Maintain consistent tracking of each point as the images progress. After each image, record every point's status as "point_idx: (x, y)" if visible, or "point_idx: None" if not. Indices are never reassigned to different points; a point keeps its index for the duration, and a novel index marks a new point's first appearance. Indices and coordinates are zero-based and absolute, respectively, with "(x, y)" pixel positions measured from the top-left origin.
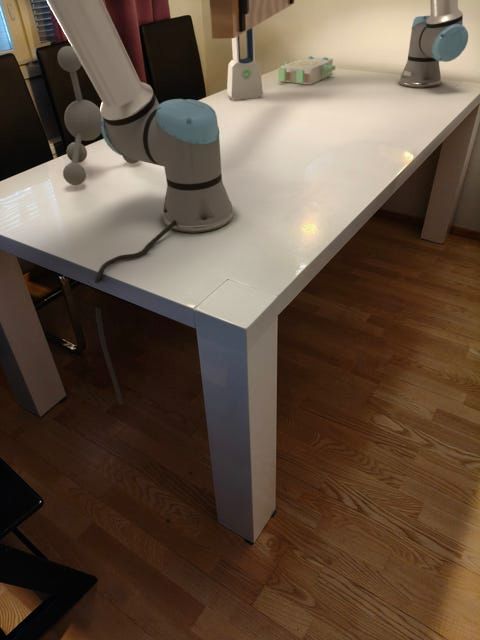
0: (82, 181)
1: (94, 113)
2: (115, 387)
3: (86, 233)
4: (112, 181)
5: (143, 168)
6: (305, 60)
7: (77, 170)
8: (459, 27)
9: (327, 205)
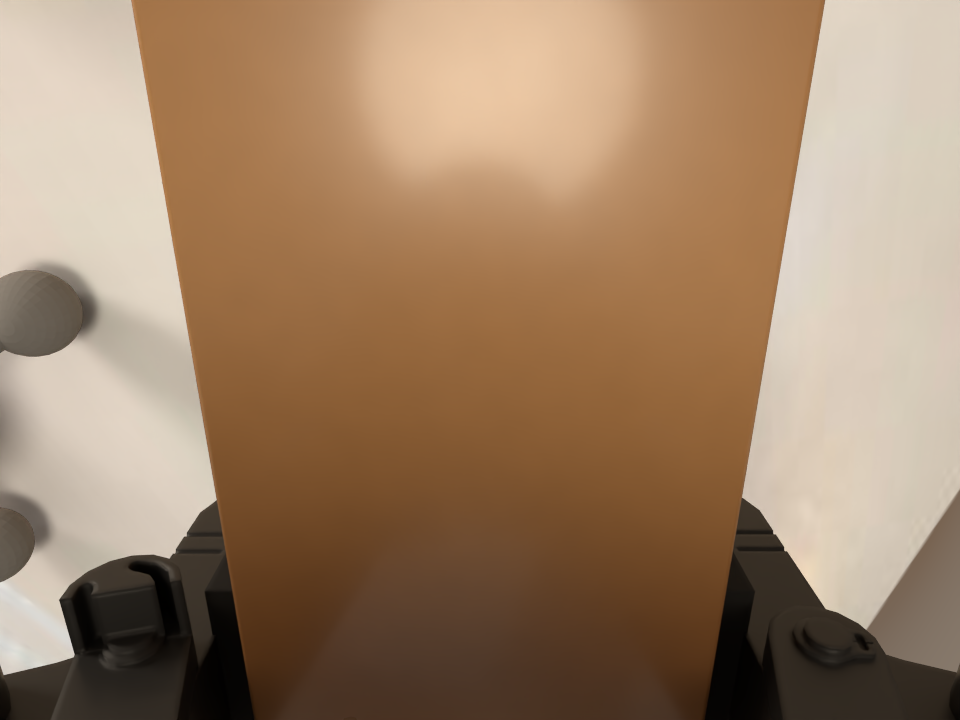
0: (34, 538)
1: None
2: None
3: None
4: (100, 463)
5: (131, 339)
6: None
7: (7, 572)
8: None
9: (843, 515)
